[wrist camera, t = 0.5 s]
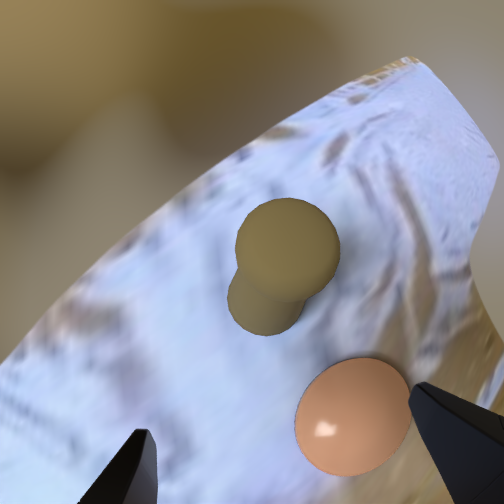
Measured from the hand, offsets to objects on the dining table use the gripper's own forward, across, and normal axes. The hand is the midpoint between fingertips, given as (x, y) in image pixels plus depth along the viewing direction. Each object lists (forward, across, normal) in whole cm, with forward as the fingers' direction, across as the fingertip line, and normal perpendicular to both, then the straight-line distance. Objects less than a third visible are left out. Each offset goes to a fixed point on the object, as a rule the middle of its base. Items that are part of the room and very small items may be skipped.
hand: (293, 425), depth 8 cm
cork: (+15, -2, +3) cm, 15 cm away
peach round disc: (+8, -8, +11) cm, 15 cm away
